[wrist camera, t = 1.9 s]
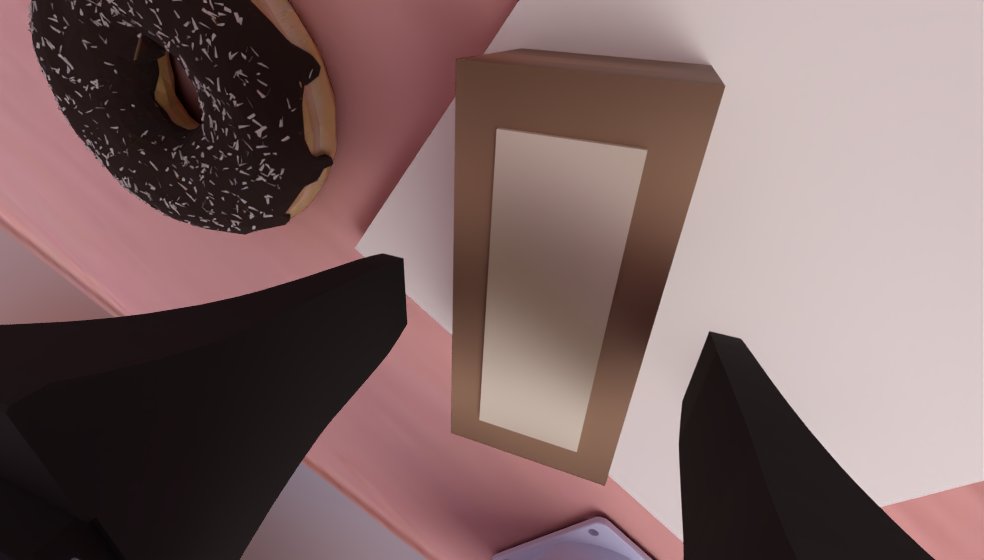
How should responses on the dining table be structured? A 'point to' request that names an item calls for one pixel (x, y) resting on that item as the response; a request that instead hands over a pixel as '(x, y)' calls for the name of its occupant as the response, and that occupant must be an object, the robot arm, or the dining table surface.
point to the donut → (222, 95)
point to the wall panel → (790, 226)
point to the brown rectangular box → (566, 241)
